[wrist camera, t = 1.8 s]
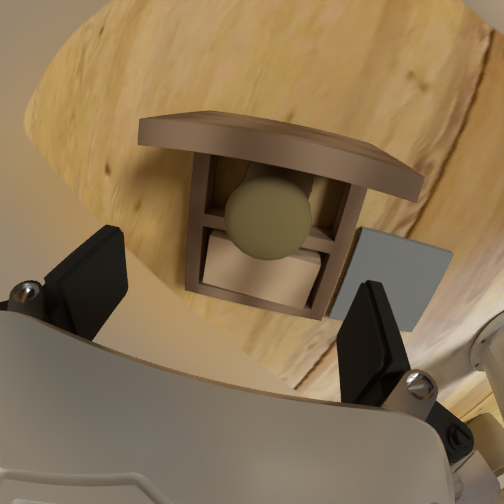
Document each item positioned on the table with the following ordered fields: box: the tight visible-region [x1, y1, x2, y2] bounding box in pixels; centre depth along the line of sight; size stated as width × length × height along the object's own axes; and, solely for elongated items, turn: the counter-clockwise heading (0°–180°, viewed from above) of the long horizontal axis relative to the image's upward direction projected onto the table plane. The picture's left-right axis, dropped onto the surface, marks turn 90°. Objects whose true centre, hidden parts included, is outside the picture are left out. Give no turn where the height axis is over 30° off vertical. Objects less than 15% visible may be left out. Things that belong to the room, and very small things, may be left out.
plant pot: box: [467, 413, 504, 478], centre depth 34 cm, size 15×15×16 cm
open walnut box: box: [138, 111, 425, 321], centre depth 22 cm, size 14×18×12 cm
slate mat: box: [329, 227, 453, 332], centre depth 28 cm, size 11×11×1 cm
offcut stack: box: [203, 228, 321, 309], centre depth 28 cm, size 10×5×4 cm, turn 78°
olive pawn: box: [224, 161, 313, 261], centre depth 21 cm, size 6×6×11 cm
